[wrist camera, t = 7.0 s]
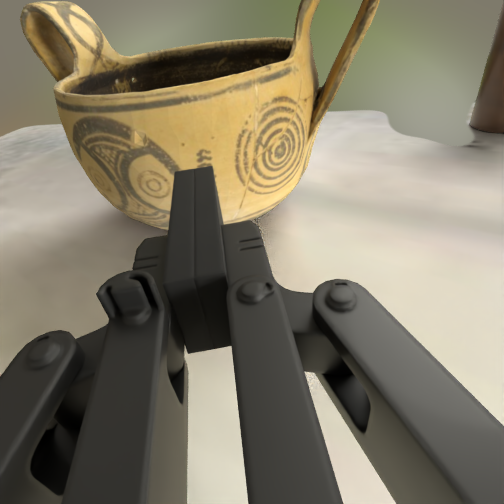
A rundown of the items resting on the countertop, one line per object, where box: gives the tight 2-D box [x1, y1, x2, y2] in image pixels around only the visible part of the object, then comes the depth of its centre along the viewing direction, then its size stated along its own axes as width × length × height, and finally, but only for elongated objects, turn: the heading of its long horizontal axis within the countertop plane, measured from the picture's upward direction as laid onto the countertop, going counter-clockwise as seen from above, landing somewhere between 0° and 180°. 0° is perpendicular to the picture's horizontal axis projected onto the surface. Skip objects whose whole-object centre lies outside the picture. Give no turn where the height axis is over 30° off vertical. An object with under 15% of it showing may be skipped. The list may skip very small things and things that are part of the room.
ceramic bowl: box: [20, 0, 380, 230], centre depth 23 cm, size 22×17×15 cm
